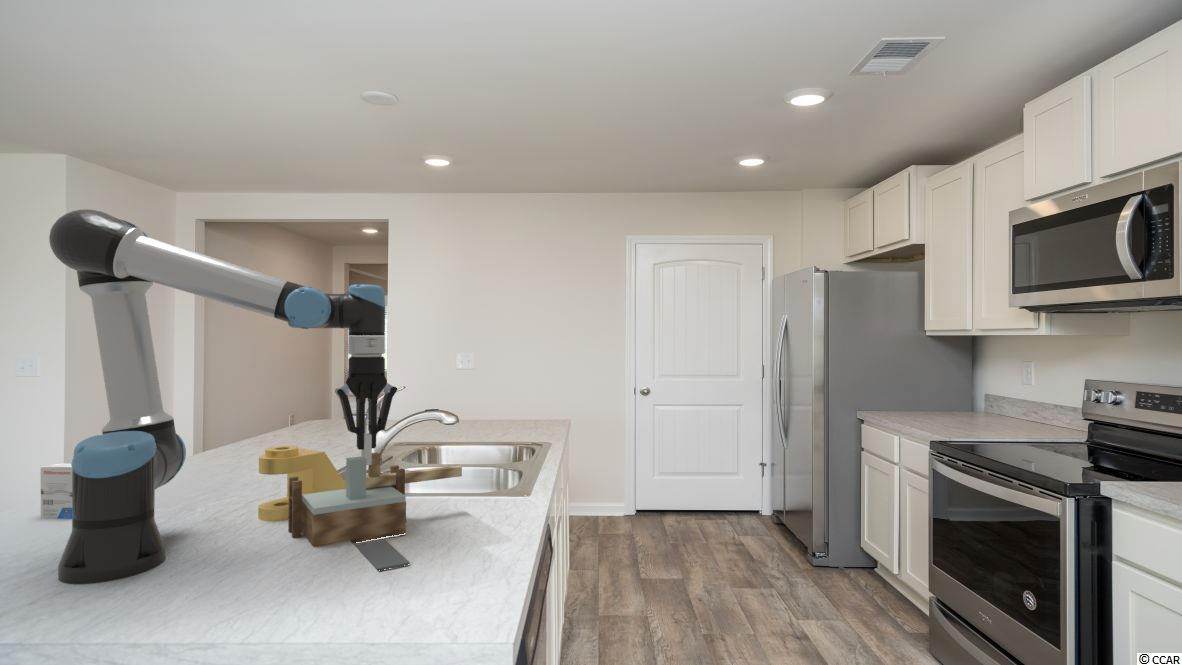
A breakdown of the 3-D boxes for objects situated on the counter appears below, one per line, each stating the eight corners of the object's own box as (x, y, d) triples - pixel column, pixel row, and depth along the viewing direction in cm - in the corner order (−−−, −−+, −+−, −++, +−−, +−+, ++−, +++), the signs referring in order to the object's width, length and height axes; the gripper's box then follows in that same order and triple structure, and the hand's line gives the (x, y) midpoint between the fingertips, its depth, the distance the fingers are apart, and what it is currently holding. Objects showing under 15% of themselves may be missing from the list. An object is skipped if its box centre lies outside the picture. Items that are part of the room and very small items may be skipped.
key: (361, 489, 135) (361, 455, 135) (358, 487, 137) (359, 454, 137) (461, 476, 148) (462, 445, 148) (458, 474, 150) (458, 444, 150)
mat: (288, 590, 102) (288, 586, 102) (274, 562, 114) (274, 559, 114) (409, 565, 113) (409, 562, 113) (385, 542, 126) (385, 539, 126)
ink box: (93, 513, 145) (93, 462, 145) (73, 520, 140) (74, 467, 140) (59, 512, 146) (60, 462, 146) (38, 518, 141) (39, 466, 141)
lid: (313, 514, 120) (314, 466, 121) (301, 500, 131) (302, 456, 131) (405, 501, 131) (405, 457, 131) (387, 489, 141) (387, 448, 141)
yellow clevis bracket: (275, 527, 135) (275, 453, 136) (249, 521, 140) (250, 449, 140) (351, 506, 153) (351, 440, 153) (325, 501, 157) (326, 437, 158)
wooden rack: (300, 553, 119) (300, 490, 119) (288, 535, 130) (288, 477, 130) (416, 533, 132) (417, 476, 132) (396, 517, 143) (397, 465, 143)
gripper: (339, 356, 130) (338, 470, 130) (401, 355, 137) (401, 463, 137) (331, 355, 136) (331, 464, 136) (391, 354, 143) (391, 458, 143)
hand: (366, 463), depth 136 cm, fingers closed
